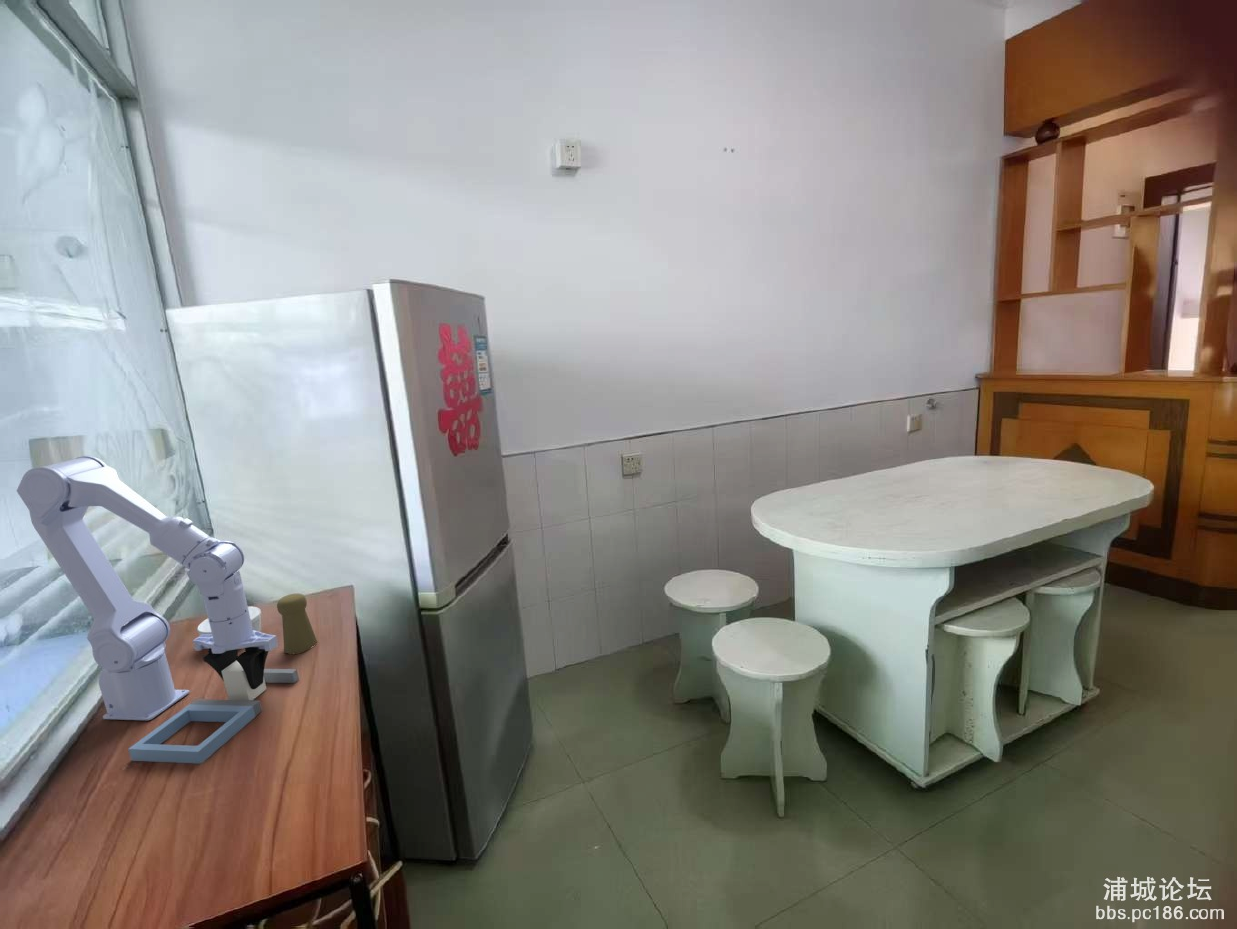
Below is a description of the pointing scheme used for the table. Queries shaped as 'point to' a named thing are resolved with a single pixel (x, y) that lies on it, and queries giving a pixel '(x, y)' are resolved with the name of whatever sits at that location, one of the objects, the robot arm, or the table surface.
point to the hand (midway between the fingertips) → (245, 685)
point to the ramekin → (254, 616)
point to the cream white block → (239, 683)
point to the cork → (295, 624)
